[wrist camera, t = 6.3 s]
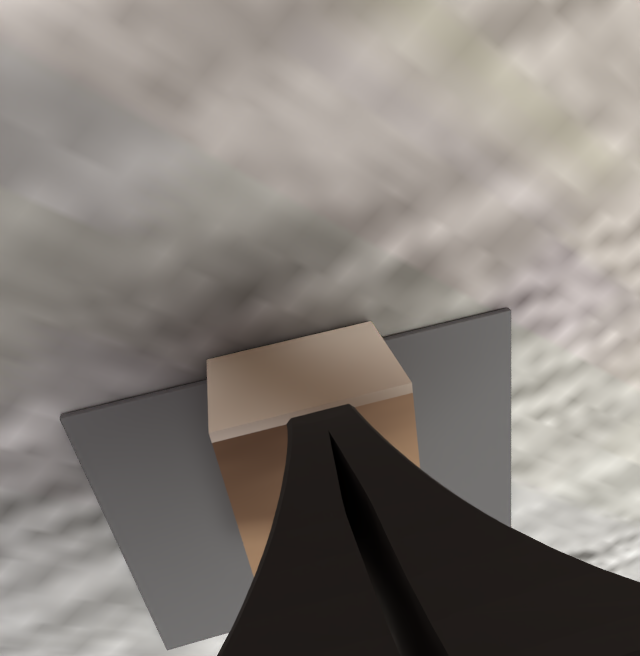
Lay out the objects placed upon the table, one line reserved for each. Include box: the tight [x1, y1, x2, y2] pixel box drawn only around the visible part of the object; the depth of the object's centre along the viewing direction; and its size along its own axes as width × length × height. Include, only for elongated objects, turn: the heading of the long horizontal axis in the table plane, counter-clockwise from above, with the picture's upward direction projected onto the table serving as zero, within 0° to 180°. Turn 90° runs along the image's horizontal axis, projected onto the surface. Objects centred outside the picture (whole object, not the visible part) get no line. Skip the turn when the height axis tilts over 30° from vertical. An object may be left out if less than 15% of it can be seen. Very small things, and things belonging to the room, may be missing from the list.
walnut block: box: [207, 321, 420, 576], centre depth 16 cm, size 5×4×7 cm
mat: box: [60, 308, 511, 650], centre depth 19 cm, size 14×11×1 cm
